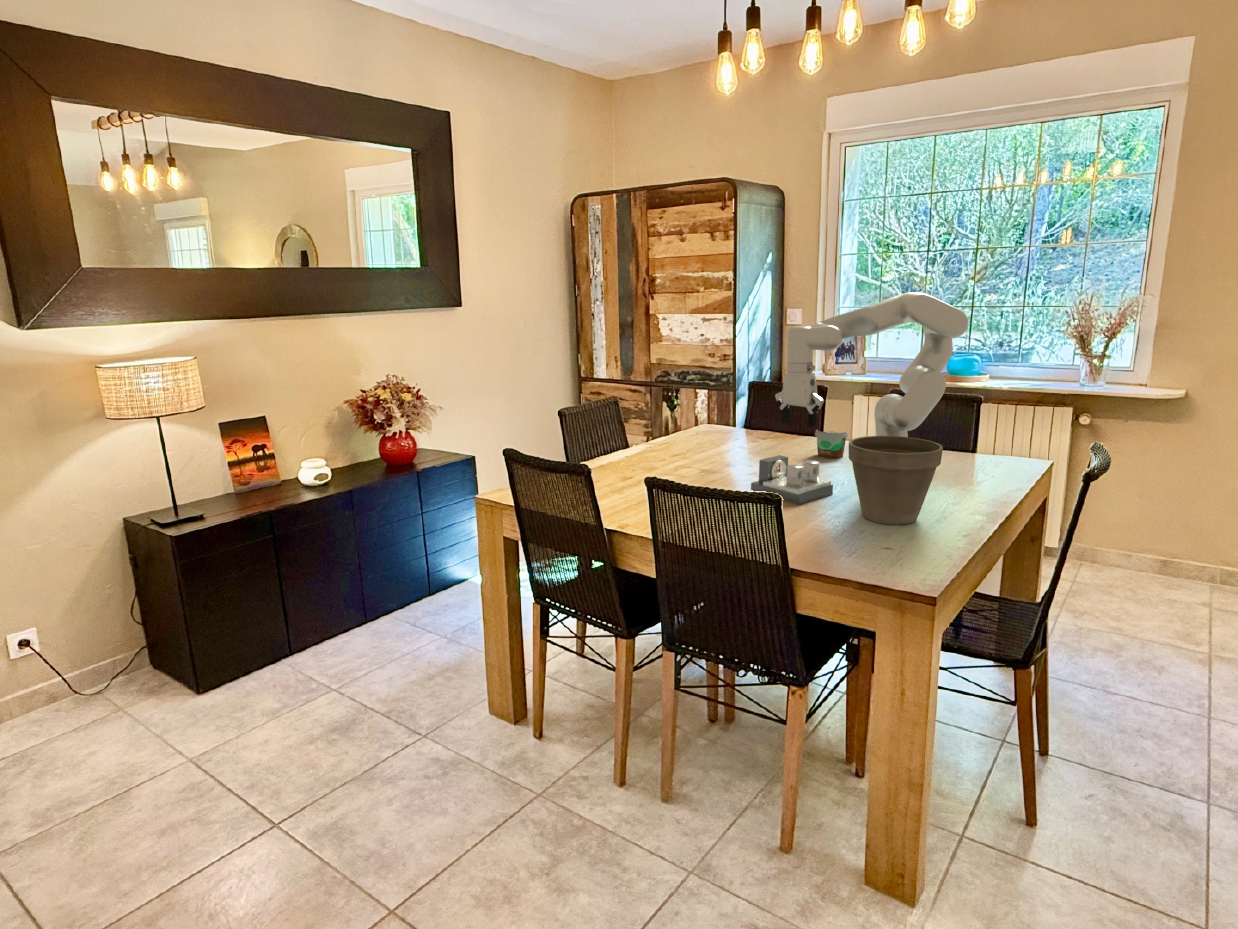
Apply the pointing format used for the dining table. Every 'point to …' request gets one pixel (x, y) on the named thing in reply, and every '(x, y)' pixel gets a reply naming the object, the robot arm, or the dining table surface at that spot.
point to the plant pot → (893, 475)
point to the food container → (831, 444)
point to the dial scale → (776, 482)
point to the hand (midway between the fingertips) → (798, 424)
